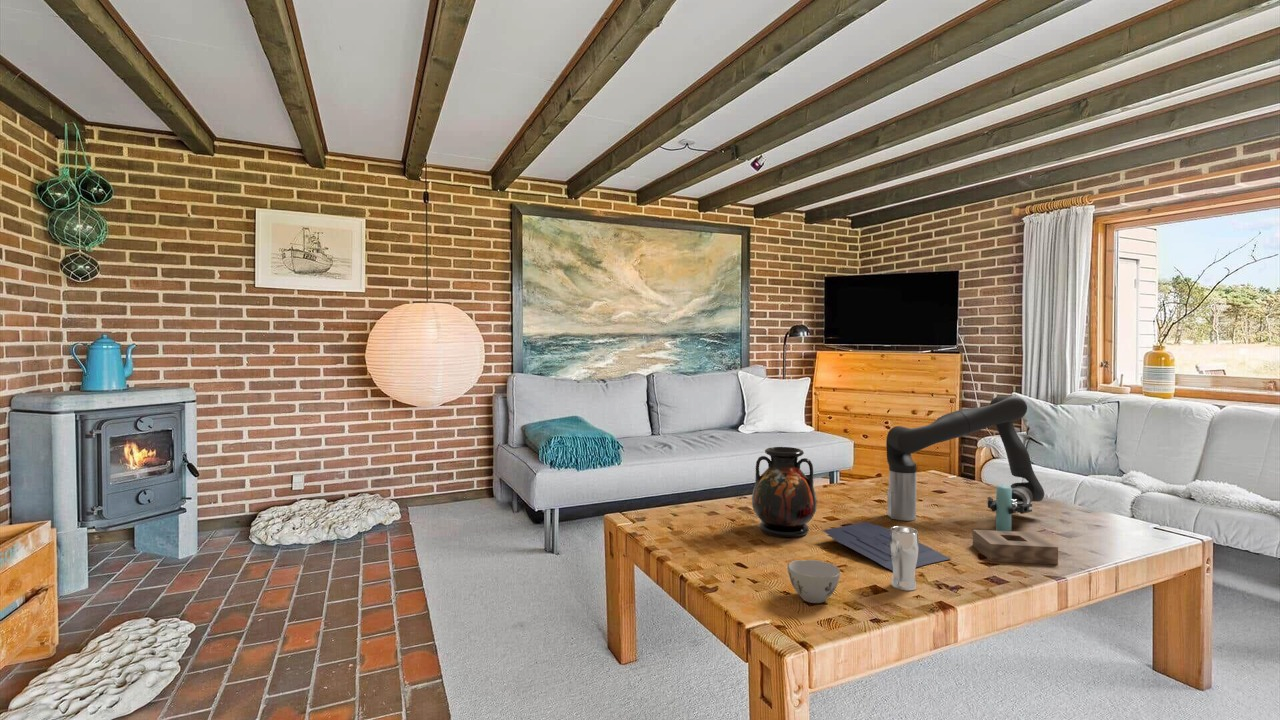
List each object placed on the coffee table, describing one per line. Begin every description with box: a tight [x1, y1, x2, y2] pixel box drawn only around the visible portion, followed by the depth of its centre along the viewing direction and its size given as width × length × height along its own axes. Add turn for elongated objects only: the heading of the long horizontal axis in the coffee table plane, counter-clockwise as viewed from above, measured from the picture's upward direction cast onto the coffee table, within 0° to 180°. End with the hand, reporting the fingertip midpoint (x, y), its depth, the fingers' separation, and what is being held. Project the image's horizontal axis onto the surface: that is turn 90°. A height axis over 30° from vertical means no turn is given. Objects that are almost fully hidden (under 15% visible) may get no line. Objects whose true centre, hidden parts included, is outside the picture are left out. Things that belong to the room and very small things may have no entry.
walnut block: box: [972, 529, 1059, 565], centre depth 183 cm, size 18×14×5 cm
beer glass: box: [890, 525, 920, 592], centre depth 159 cm, size 7×7×15 cm
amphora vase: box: [751, 446, 818, 539], centre depth 206 cm, size 22×22×28 cm
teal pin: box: [995, 485, 1012, 531], centre depth 202 cm, size 4×4×16 cm
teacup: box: [787, 559, 841, 604], centre depth 153 cm, size 15×12×8 cm
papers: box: [821, 521, 952, 572], centre depth 187 cm, size 24×30×4 cm
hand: (1001, 509), depth 200 cm, fingers closed on teal pin, 4 cm apart
